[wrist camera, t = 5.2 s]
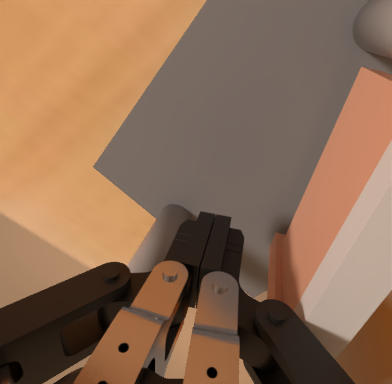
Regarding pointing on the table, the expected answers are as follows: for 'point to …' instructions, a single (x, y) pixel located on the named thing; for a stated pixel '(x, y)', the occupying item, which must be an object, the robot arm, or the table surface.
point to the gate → (342, 223)
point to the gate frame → (243, 118)
